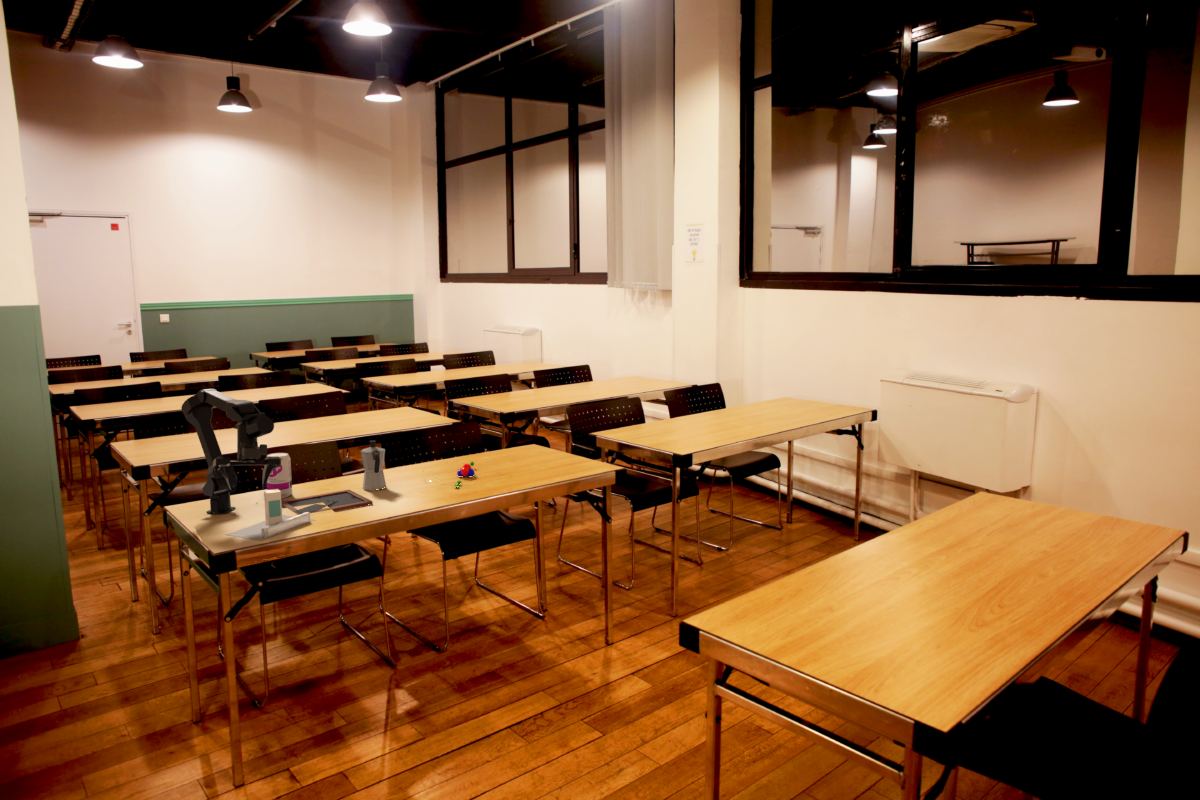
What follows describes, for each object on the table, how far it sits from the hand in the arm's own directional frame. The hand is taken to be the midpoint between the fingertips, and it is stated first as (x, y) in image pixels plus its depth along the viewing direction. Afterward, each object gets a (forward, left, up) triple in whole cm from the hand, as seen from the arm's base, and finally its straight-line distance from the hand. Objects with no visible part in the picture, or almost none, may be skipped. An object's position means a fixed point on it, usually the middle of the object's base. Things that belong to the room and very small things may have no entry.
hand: (247, 489), depth 235 cm
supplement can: (-35, -8, -12) cm, 38 cm away
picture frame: (-26, +13, -13) cm, 31 cm away
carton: (+3, +10, -11) cm, 15 cm away
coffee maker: (-48, +22, -12) cm, 54 cm away
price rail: (+5, +15, -11) cm, 19 cm away
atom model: (-68, +51, -12) cm, 86 cm away
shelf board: (+3, +9, -12) cm, 15 cm away
